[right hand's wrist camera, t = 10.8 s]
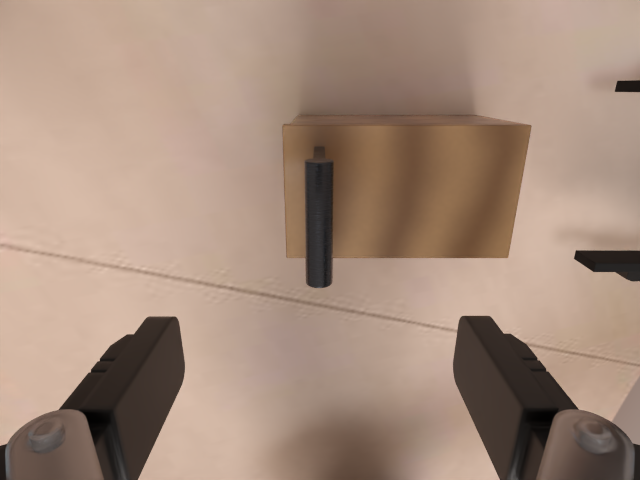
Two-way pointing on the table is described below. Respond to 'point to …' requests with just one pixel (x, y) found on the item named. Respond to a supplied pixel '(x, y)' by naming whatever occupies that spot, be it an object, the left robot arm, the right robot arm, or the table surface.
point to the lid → (400, 191)
